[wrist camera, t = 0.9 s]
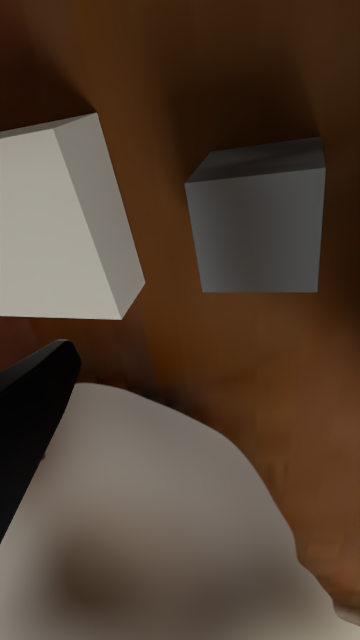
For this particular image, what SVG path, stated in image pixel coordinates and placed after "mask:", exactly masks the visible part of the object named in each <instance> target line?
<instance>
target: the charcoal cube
mask: <svg viewBox="0 0 360 640" xmlns="http://www.w3.org/2000/svg"><path fill="white" fill-rule="evenodd" d="M325 173H326V165H325V159H324V153H323V146H322V140H321V136H319V137H312V138H305V139H298V140H290V141H283V142H276V143H268V144H261V145H254V146H247V147H239V148H232V149H225V150H218V151H211V152H210V153H209V154H208V155H207V157H206V158H205V159H204V160H203V162H202V163H201V164H200V165H199V166H198V168H197V169H196V170H195V171H194V172H193V174H192V175H191V176H190V177H189V178H188V180H187V181H186V182H185V183H184V184H185V190H186V196H187V202H188V208H189V214H190V220H191V225H192V231H193V237H194V243H195V249H196V255H197V261H198V267H199V273H200V279H201V285H202V291H203V292H317V289H318V275H319V260H320V246H321V231H322V217H323V202H324V188H325Z"/></svg>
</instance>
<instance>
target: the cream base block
mask: <svg viewBox="0 0 360 640" xmlns="http://www.w3.org/2000/svg"><path fill="white" fill-rule="evenodd" d="M144 284H145V280H144V276H143V273H142V269H141V266H140V262H139V259H138V255H137V252H136V248H135V245H134V241H133V238H132V234H131V231H130V227H129V224H128V220H127V216H126V213H125V209H124V206H123V202H122V199H121V195H120V192H119V188H118V185H117V181H116V178H115V174H114V171H113V167H112V164H111V160H110V157H109V153H108V150H107V146H106V143H105V139H104V136H103V132H102V128H101V125H100V121H99V118H98V114H97V113H92V114H87V115H82V116H77V117H72V118H67V119H62V120H57V121H52V122H47V123H42V124H37V125H32V126H27V127H22V128H17V129H12V130H7V131H2V132H0V316H23V317H55V318H87V319H119V320H122V318H123V316H124V315H125V313H126V312H127V310H128V309H129V307H130V306H131V304H132V303H133V301H134V300H135V298H136V297H137V295H138V294H139V292H140V290H141V289H142V287H143V286H144Z"/></svg>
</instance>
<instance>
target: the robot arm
mask: <svg viewBox="0 0 360 640" xmlns="http://www.w3.org/2000/svg"><path fill="white" fill-rule="evenodd" d="M80 369H81V359H80V357H79V355H78V353H77V351H76V349H75V347H74V345H73V343H72V342H71V341H70V340H56V341H54V342H52V343H50V344H49V345H47V346H45V347H44V348H42V349H40V350H38V351H37V352H35V353H33V354H32V355H30V356H28V357H27V358H25V359H23V360H21V361H20V362H18V363H16V364H15V365H13V366H11V367H9V368H8V369H6V370H4V371H3V372H1V373H0V544H1V541H2V539H3V537H4V535H5V533H6V531H7V529H8V527H9V525H10V523H11V521H12V519H13V517H14V515H15V513H16V511H17V509H18V506H19V504H20V502H21V500H22V498H23V496H24V494H25V492H26V490H27V488H28V486H29V484H30V482H31V480H32V478H33V476H34V473H35V472H36V470H37V468H38V465H39V463H40V461H41V459H42V457H43V455H44V453H45V451H46V449H47V447H48V445H49V443H50V441H51V439H52V437H53V435H54V433H55V430H56V428H57V426H58V424H59V422H60V420H61V418H62V416H63V414H64V411H65V409H66V406H67V404H68V401H69V398H70V396H71V393H72V390H73V388H74V385H75V382H76V380H77V377H78V374H79V372H80Z"/></svg>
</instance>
